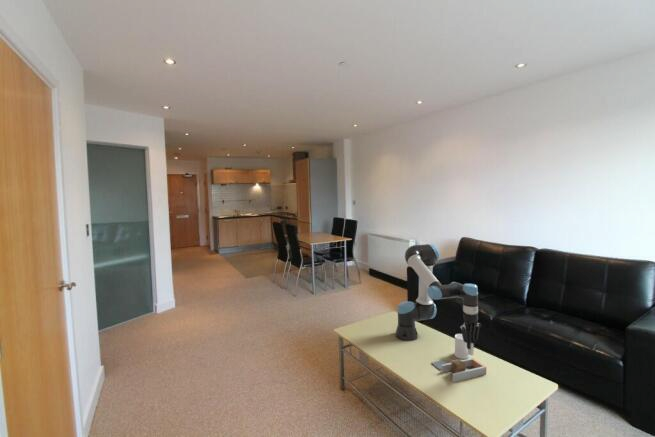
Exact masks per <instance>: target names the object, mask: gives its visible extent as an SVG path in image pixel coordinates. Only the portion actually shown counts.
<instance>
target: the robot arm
mask: <svg viewBox="0 0 655 437" xmlns="http://www.w3.org/2000/svg"><path fill="white" fill-rule="evenodd" d="M404 258H405V259H404V260H405V263H406V264H407V265H408V266H409V267H411V268H412V269H413V270H414V272H415V274H416V275H417V276H418V277H419V278H418V296H417V298H416V299H415V302H413V301H410V300H409V301H408V300H407V301H406V300H405V301H402V302H400V303H399V304H397V310H396V311H397V326H396V329H395V337H396V338H397V339H399V340H402V341H415V340H417V339H418V336H419V334H418V331H417V328H416V322H419V321H425V320H426V321H427V320H431V319H434V318H435V317H436V315H437V306H436V304H435V303H434V300H436V301H437V300H445V299H452V298H459V299H462V311H463V312H462V318H463V322H462V325H459V329H460V331H461V334H462V336H463V341H464V342H466V343H467V348H468V354H470V355H469V356H474V349H475V344H476V343H477V342H478V340H479V335H480V330H481V327H482V323H479V321H478V320H479V291H478V290H479V289H478V285H477V284H475V283H464V284H462V283H460V282H456V281H452V282H450V283H449V284H442V283H441V282H440V281H439V280H438V279H437V277H436V276H435V275H434V273H433V272H434V271H433V268H434V266H435V265H436V262H437V261H439V260H440V252H439V249H438V248H437V246H436V244H432V243H431V244H429V243H427V244H417V245H416V244H415V245H410V246H409V247H408V248H407V249H406V251H405V252H404Z"/></svg>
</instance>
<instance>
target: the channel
mask: <svg viewBox="0 0 655 437" xmlns="http://www.w3.org/2000/svg"><path fill="white" fill-rule="evenodd" d="M460 360H461V361H462V362H464V363H465V371H462V372H457V373H453V374H452V382H453V383H457V382H459V381H464V380H469V379H471V378H476V377H480V376H484V375H487V366H485V365H484V364H482V363H481V362H479V361H478V360H476V359H474V358H473V357H471V358H470V357H469V358H468V359H460ZM466 368H467V370H466ZM440 371H441V373H442V374H443V373H448V372H451V362H448V363H447V364H443V365H441V370H440Z"/></svg>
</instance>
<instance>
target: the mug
mask: <svg viewBox="0 0 655 437" xmlns="http://www.w3.org/2000/svg"><path fill="white" fill-rule="evenodd" d="M454 356H455V357H456V358H458V359H459V360H465V359H470V357H471V355H470V354H468V348H467V343H466V342H464V341H463V336H462V333H456V334H455V335H454Z"/></svg>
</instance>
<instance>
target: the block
mask: <svg viewBox="0 0 655 437" xmlns="http://www.w3.org/2000/svg"><path fill="white" fill-rule="evenodd" d="M461 360H462V359H460V358H458V359H457V358H456V359H453V360H451V362H450V363H451V371H450V373H451V374H452V375H453V373H457V372H462V371H466V368H465V363H464V362H462V361H461Z"/></svg>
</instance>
